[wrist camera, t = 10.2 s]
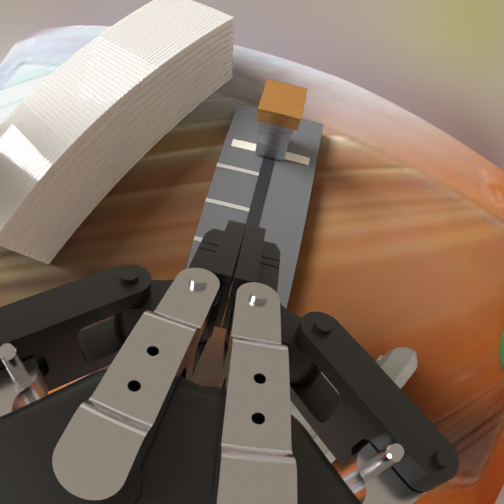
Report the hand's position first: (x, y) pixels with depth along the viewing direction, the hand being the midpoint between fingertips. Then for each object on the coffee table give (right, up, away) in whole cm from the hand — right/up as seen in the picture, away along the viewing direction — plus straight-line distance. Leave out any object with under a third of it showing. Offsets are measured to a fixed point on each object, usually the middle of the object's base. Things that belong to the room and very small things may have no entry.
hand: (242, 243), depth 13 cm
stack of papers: (-16, +14, +22) cm, 30 cm away
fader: (+2, +11, +20) cm, 23 cm away
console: (+1, +5, +21) cm, 21 cm away
